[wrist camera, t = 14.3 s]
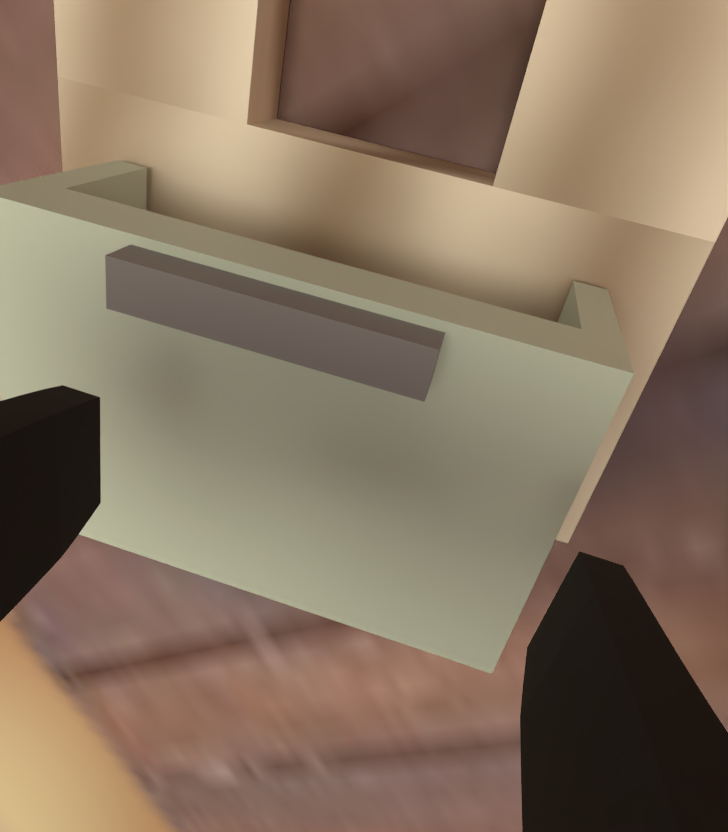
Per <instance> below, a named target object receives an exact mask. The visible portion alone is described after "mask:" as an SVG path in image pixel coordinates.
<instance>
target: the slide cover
mask: <svg viewBox="0 0 728 832" xmlns="http://www.w3.org/2000/svg"><path fill="white" fill-rule="evenodd" d="M146 201H147V168H146V167H142V166H139V165H135V164H131V163H127V162H123V161H120V160H116V161H111V162H106V163H102V164H97V165H92V166H88V167H83V168H78V169H74V170H69V171H64V172H60V173H55V174H50V175H46V176H41V177H36V178H32V179H27V180H22V181H17V182H13V183H8V184H3V185H0V394H1V401H2V400H6V399H9V398H13V397H16V396H20V395H24V394H27V393H31V392H35V391H39V390H43V389H47V388H52V387H57V386H61V385H64V386H67V387H70V388H73V389H76V390H79V391H82V392H85V393H88V394H92V395H95V396H98V397H100V472H101V503H100V505H99V506H98V508H97V509H96V510H95V512H94V513H93V515H92V516H91V518H90V519H89V520H88V522H87V523H86V525H85V526H84V527H83V529H82V530H81V532H80V533H79V534H80V535H83V536H86V537H89V538H92V539H95V540H97V541H100V542H103V543H106V544H109V545H112V546H115V547H118V548H121V549H124V550H127V551H130V552H133V553H136V554H139V555H142V556H145V557H148V558H151V559H154V560H157V561H160V562H163V563H166V564H168V565H171V566H174V567H177V568H180V569H183V570H186V571H189V572H192V573H195V574H198V575H201V576H204V577H207V578H210V579H213V580H216V581H219V582H222V583H225V584H228V585H231V586H234V587H237V588H239V589H242V590H245V591H248V592H251V593H254V594H257V595H260V596H263V597H266V598H269V599H272V600H275V601H278V602H281V603H284V604H287V605H290V606H293V607H296V608H299V609H302V610H305V611H308V612H310V613H313V614H316V615H319V616H322V617H325V618H328V619H331V620H334V621H337V622H340V623H343V624H346V625H349V626H352V627H355V628H358V629H361V630H364V631H367V632H370V633H373V634H376V635H379V636H381V637H384V638H387V639H390V640H393V641H396V642H399V643H402V644H405V645H408V646H411V647H414V648H417V649H420V650H423V651H426V652H429V653H432V654H435V655H438V656H441V657H444V658H447V659H450V660H452V661H455V662H458V663H461V664H464V665H467V666H470V667H473V668H476V669H479V670H482V671H485V672H488V673H491V674H492V672H493V670H494V668H495V666H496V664H497V662H498V660H499V657H500V655H501V653H502V651H503V649H504V647H505V645H506V643H507V641H508V639H509V636H510V634H511V632H512V630H513V628H514V626H515V624H516V622H517V620H518V617H519V615H520V613H521V611H522V609H523V607H524V605H525V603H526V601H527V598H528V596H529V594H530V592H531V590H532V588H533V586H534V584H535V582H536V579H537V577H538V575H539V573H540V571H541V569H542V567H543V565H544V563H545V560H546V558H547V556H548V554H549V552H550V550H551V548H552V546H553V544H554V541H555V539H556V537H557V535H558V533H559V531H560V529H561V527H562V525H563V522H564V520H565V518H566V516H567V514H568V512H569V510H570V508H571V506H572V503H573V501H574V499H575V497H576V495H577V493H578V491H579V489H580V487H581V484H582V482H583V480H584V478H585V476H586V474H587V472H588V470H589V468H590V465H591V463H592V461H593V459H594V457H595V455H596V453H597V451H598V449H599V446H600V444H601V442H602V440H603V438H604V436H605V434H606V432H607V430H608V427H609V425H610V423H611V421H612V419H613V417H614V415H615V413H616V411H617V408H618V406H619V404H620V402H621V400H622V398H623V396H624V394H625V392H626V389H627V387H628V385H629V383H630V381H631V379H632V377H633V375H634V372H633V369H632V366H631V363H630V359H629V356H628V353H627V350H626V347H625V343H624V340H623V337H622V334H621V331H620V327H619V324H618V321H617V318H616V315H615V311H614V308H613V305H612V302H611V299H610V295H609V292H608V290H607V289H603V288H599V287H595V286H591V285H588V284H584V283H580V282H576V281H573V283H572V286H571V288H570V291H569V293H568V296H567V299H566V301H565V304H564V307H563V309H562V312H561V314H560V317H559V320H558V322H553V321H550V320H546V319H542V318H539V317H535V316H531V315H528V314H524V313H520V312H517V311H513V310H509V309H506V308H502V307H498V306H495V305H491V304H487V303H484V302H480V301H476V300H473V299H469V298H465V297H462V296H458V295H454V294H451V293H447V292H443V291H440V290H436V289H432V288H429V287H425V286H421V285H418V284H414V283H410V282H407V281H403V280H399V279H396V278H392V277H389V276H385V275H381V274H378V273H374V272H370V271H367V270H363V269H359V268H356V267H352V266H348V265H345V264H341V263H337V262H334V261H330V260H326V259H323V258H319V257H315V256H312V255H308V254H304V253H301V252H297V251H293V250H290V249H286V248H282V247H279V246H275V245H271V244H268V243H264V242H260V241H257V240H253V239H249V238H246V237H242V236H238V235H235V234H231V233H227V232H224V231H220V230H216V229H213V228H209V227H205V226H202V225H198V224H194V223H191V222H187V221H183V220H180V219H176V218H172V217H169V216H165V215H161V214H158V213H154V212H150V211H147V210H146Z"/></svg>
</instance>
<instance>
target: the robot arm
mask: <svg viewBox="0 0 728 832" xmlns="http://www.w3.org/2000/svg"><path fill="white" fill-rule="evenodd" d="M100 503H101V472H100V397H98V396H95V395H92V394H88V393H85V392H82V391H79V390H76V389H73V388H70V387H67V386H64V385H61V386H57V387H52V388H47V389H43V390H39V391H35V392H31V393H27V394H24V395H20V396H16V397H13V398H9V399H6V400H2V401H0V621H1V620H2V619H3V618H4V617H5V616H6V615H7V614H8V613H9V612H10V611H11V610H12V609H13V608H14V607H15V606H16V605H17V604H18V603H19V602H20V601H21V600H22V598H23V597H24V596H25V595H26V594H27V593H28V592H29V591H30V590H31V589H32V588H33V587H34V586H35V585H36V584H37V583H38V582H39V580H40V579H41V578H42V577H43V576H44V575H45V574H46V573H47V572H48V571H49V570H50V569H51V568H52V567H53V566H54V564H55V563H56V562H57V561H58V560H59V559H60V558H61V557H62V555H63V554H64V553H65V552H66V550H67V549H68V548H69V546H70V545H71V544H72V542H73V541H74V540H75V538H76V537H77V536H78V534H79V533H80V532H81V530H82V529H83V527H84V526H85V525H86V523H87V522H88V520H89V519H90V518H91V516H92V515H93V513H94V512H95V510H96V509H97V508H98V506H99V505H100ZM520 726H521V784H522V825H523V832H728V732H727V731H726V729H725V728H724V726H723V725H722V723H721V722H720V720H719V719H718V717H717V716H716V714H715V713H714V711H713V710H712V708H711V706H710V705H709V703H708V702H707V700H706V699H705V697H704V696H703V694H702V692H701V691H700V689H699V688H698V686H697V685H696V683H695V681H694V680H693V678H692V677H691V675H690V674H689V672H688V670H687V669H686V667H685V665H684V664H683V662H682V661H681V659H680V657H679V656H678V654H677V653H676V651H675V649H674V648H673V646H672V644H671V643H670V641H669V639H668V638H667V636H666V634H665V633H664V631H663V629H662V628H661V626H660V625H659V623H658V621H657V620H656V618H655V616H654V615H653V613H652V611H651V610H650V608H649V606H648V605H647V603H646V601H645V600H644V598H643V596H642V595H641V593H640V591H639V590H638V588H637V586H636V585H635V583H634V582H633V580H632V578H631V577H630V575H629V574H628V572H627V571H626V569H625V568H624V566H623V565H620V564H616V563H613V562H610V561H607V560H604V559H601V558H598V557H595V556H592V555H589V554H585V553H582V552H579V553H578V555H577V557H576V559H575V560H574V562H573V564H572V566H571V568H570V570H569V572H568V573H567V575H566V577H565V579H564V581H563V583H562V584H561V586H560V588H559V590H558V592H557V594H556V596H555V597H554V599H553V601H552V603H551V605H550V607H549V608H548V610H547V612H546V614H545V616H544V618H543V620H542V621H541V623H540V625H539V627H538V629H537V631H536V632H535V634H534V636H533V638H532V640H531V642H530V644H529V645H528V647H527V656H526V665H525V674H524V683H523V693H522V705H521V716H520Z"/></svg>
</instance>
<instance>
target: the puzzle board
mask: <svg viewBox="0 0 728 832" xmlns="http://www.w3.org/2000/svg"><path fill="white" fill-rule="evenodd" d="M289 5H290V0H54V13H55V32H56V52H57V71H58V90H59V109H60V128H61V148H62V167H63V172H64V171H69V170H74V169H78V168H83V167H88V166H92V165H97V164H102V163H106V162H111V161H116V160H120V161H123V162H127V163H131V164H135V165H139V166H142V167H146V168H147V201H146V210H147V211H150V212H154V213H158V214H161V215H165V216H169V217H172V218H176V219H180V220H183V221H187V222H191V223H194V224H198V225H202V226H205V227H209V228H213V229H216V230H220V231H224V232H227V233H231V234H235V235H238V236H242V237H246V238H249V239H253V240H257V241H260V242H264V243H268V244H271V245H275V246H279V247H282V248H286V249H290V250H293V251H297V252H301V253H304V254H308V255H312V256H315V257H319V258H323V259H326V260H330V261H334V262H337V263H341V264H345V265H348V266H352V267H356V268H359V269H363V270H367V271H370V272H374V273H378V274H381V275H385V276H389V277H392V278H396V279H399V280H403V281H407V282H410V283H414V284H418V285H421V286H425V287H429V288H432V289H436V290H440V291H443V292H447V293H451V294H454V295H458V296H462V297H465V298H469V299H473V300H476V301H480V302H484V303H487V304H491V305H495V306H498V307H502V308H506V309H509V310H513V311H517V312H520V313H524V314H528V315H531V316H535V317H539V318H542V319H546V320H550V321H553V322H558V320H559V317H560V314H561V312H562V309H563V307H564V304H565V301H566V299H567V296H568V293H569V291H570V288H571V286H572V283H573V281H576V282H580V283H584V284H588V285H591V286H595V287H599V288H603V289H607V290H608V292H609V295H610V299H611V302H612V305H613V308H614V311H615V315H616V318H617V321H618V324H619V327H620V331H621V334H622V337H623V340H624V343H625V347H626V350H627V353H628V356H629V359H630V363H631V366H632V369H633V372H634V375H633V377H632V379H631V381H630V383H629V385H628V387H627V389H626V392H625V394H624V396H623V398H622V400H621V402H620V404H619V406H618V408H617V411H616V413H615V415H614V417H613V419H612V421H611V423H610V425H609V427H608V430H607V432H606V434H605V436H604V438H603V440H602V442H601V444H600V446H599V449H598V451H597V453H596V455H595V457H594V459H593V461H592V463H591V465H590V468H589V470H588V472H587V474H586V476H585V478H584V480H583V482H582V484H581V487H580V489H579V491H578V493H577V495H576V497H575V499H574V501H573V503H572V506H571V508H570V510H569V512H568V514H567V516H566V518H565V520H564V522H563V525H562V527H561V529H560V531H559V533H558V535H557V537H556V539H555V540H559V541H562V542H565V543H568V542H569V540H570V538H571V536H572V534H573V532H574V530H575V528H576V526H577V524H578V522H579V520H580V517H581V515H582V513H583V511H584V509H585V507H586V505H587V503H588V501H589V499H590V497H591V495H592V493H593V491H594V489H595V487H596V485H597V483H598V481H599V479H600V477H601V475H602V473H603V471H604V468H605V466H606V464H607V462H608V460H609V458H610V456H611V454H612V452H613V450H614V448H615V446H616V444H617V442H618V440H619V438H620V436H621V434H622V432H623V430H624V428H625V426H626V424H627V422H628V419H629V417H630V415H631V413H632V411H633V409H634V407H635V405H636V403H637V401H638V399H639V397H640V395H641V393H642V391H643V389H644V387H645V385H646V383H647V381H648V379H649V377H650V375H651V372H652V370H653V368H654V366H655V364H656V362H657V360H658V358H659V356H660V354H661V352H662V350H663V348H664V346H665V344H666V342H667V340H668V338H669V336H670V334H671V332H672V330H673V328H674V326H675V323H676V321H677V319H678V317H679V315H680V313H681V311H682V309H683V307H684V305H685V303H686V301H687V299H688V297H689V295H690V293H691V291H692V289H693V287H694V285H695V283H696V281H697V279H698V277H699V274H700V272H701V270H702V268H703V266H704V264H705V262H706V260H707V258H708V256H709V254H710V252H711V250H712V248H713V246H714V244H715V242H716V240H717V238H718V236H719V234H720V232H721V230H722V228H723V225H724V223H725V221H726V219H727V217H728V0H547V1H546V5H545V8H544V11H543V15H542V18H541V22H540V25H539V29H538V32H537V36H536V39H535V42H534V46H533V49H532V53H531V56H530V60H529V63H528V67H527V70H526V73H525V77H524V80H523V84H522V87H521V91H520V94H519V98H518V101H517V104H516V108H515V111H514V115H513V118H512V122H511V125H510V129H509V132H508V135H507V139H506V142H505V146H504V149H503V153H502V156H501V160H500V163H499V166H498V170H497V173H496V174H495V173H491V172H487V171H483V170H479V169H475V168H471V167H467V166H463V165H459V164H455V163H451V162H447V161H443V160H439V159H435V158H431V157H427V156H423V155H419V154H415V153H411V152H407V151H403V150H399V149H395V148H391V147H387V146H383V145H379V144H375V143H371V142H367V141H363V140H359V139H355V138H351V137H347V136H343V135H339V134H335V133H331V132H327V131H323V130H319V129H315V128H311V127H307V126H303V125H299V124H295V123H291V122H287V121H283V120H279V119H277V112H278V103H279V94H280V85H281V77H282V68H283V59H284V50H285V41H286V32H287V23H288V14H289Z"/></svg>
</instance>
